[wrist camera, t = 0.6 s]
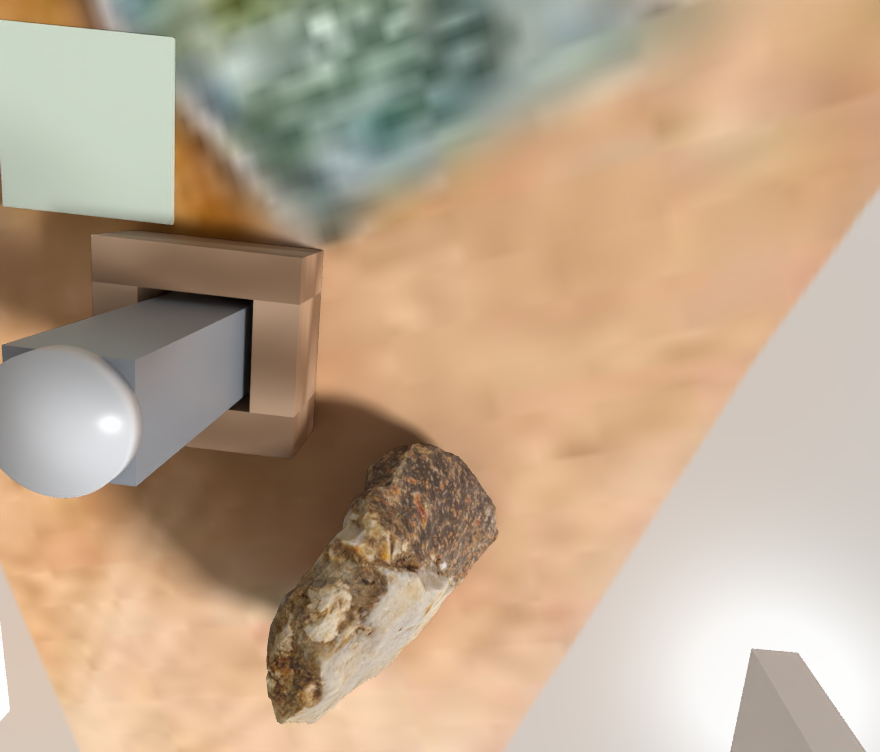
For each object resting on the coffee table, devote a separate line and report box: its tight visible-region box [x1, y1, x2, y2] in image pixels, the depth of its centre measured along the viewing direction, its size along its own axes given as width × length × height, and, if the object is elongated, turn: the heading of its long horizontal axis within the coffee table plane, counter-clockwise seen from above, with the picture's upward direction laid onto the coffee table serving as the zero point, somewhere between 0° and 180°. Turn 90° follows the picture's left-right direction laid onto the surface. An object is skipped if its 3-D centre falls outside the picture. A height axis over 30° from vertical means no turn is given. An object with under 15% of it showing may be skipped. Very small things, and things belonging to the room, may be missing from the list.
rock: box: [266, 443, 498, 724], centre depth 35 cm, size 15×8×15 cm
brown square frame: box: [91, 230, 323, 459], centre depth 36 cm, size 10×10×4 cm
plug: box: [0, 291, 254, 498], centre depth 30 cm, size 5×5×16 cm
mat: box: [0, 20, 175, 225], centre depth 36 cm, size 9×9×1 cm
